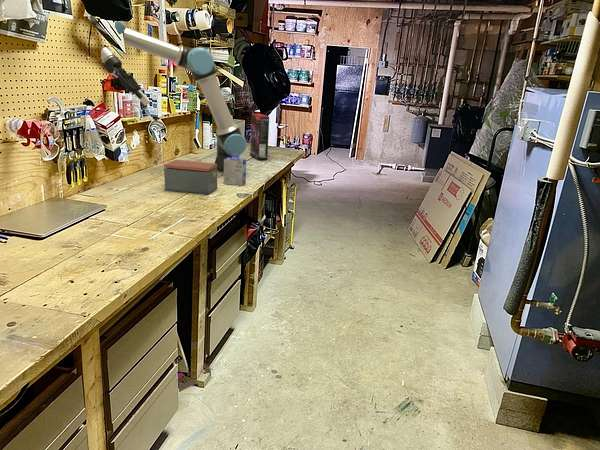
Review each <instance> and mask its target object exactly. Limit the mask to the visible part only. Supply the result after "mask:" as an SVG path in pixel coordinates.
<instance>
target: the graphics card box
mask: <svg viewBox="0 0 600 450" xmlns="http://www.w3.org/2000/svg"><path fill="white" fill-rule="evenodd" d="M250 118H251V121H250V122H251V125H250V150H249V151H250V152H249V153H250V154H249V156H251V157H252V158H254V159H256V160H259V161H261V160H262V161H263V160H265V161H267V160H268V153H269V136H270V135H269V134H270V132H269V131H270V116H269V115H265V114H262V113H252V114H251V117H250Z"/></svg>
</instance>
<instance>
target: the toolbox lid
mask: <svg viewBox="0 0 600 450" xmlns="http://www.w3.org/2000/svg"><path fill="white" fill-rule="evenodd" d="M163 167H164V168H176V169H187V170H197V171H210V170H212V169H213V168H215V167H217V164H215V162H213V163H212V162H202V161H191V160H181V159H174V160H171V161H170V162H167V163H164V164H163Z"/></svg>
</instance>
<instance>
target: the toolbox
mask: <svg viewBox="0 0 600 450" xmlns="http://www.w3.org/2000/svg"><path fill="white" fill-rule="evenodd" d="M163 173H164V191H166V192H174V193H185V194H196V195H205V196H206V195H207V196H210V195H211V194H212V193H213V192H215V191H216V190H217V189H218V171H217V167H215V168H213V169H212V170H210V171H197V170H187V169H176V168H165V167H164V168H163Z"/></svg>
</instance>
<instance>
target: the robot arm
mask: <svg viewBox="0 0 600 450" xmlns="http://www.w3.org/2000/svg"><path fill="white" fill-rule="evenodd" d="M115 28H116V30H117V32H118V33H119V34H121V33H123V37H124V40H125V43H126V44H127V45H126V46H128V47H132V48H134V49H137V50H140V51H142V52H145V53H147V54H151V55H153V56H157V57H160V58H162V59H165V60H168V61H170V62H174V63H175V64H176V66H179V67H181V68H183V69H185V70H187V71H189V72H190V73H191V76H192V77H193V81H194V82H195V83H198V84H199V85H198V86H199V87H200V90H201V92H202V94H203V97H204V99H205V102H206V104H207V105H208V108H209V111H210V113H211V116H212V117H213V120H214V122H215V126H216V127H217V129H216V157H215V160H214V163H215V164H217V172H220V173H221V172H223V173H224V159H226V158H232V155H233V153H234V154H240V156H241V155H242V154H244V153H245V152H246V150H247V146H248V145H247V140H246V138H245V137H244V136H243V133H242V131H241V128H240V127H239V125H238V124H235V122H234V119H233V117H232V115H231V114H232V113H231V111H230V110H229V108H228V104H227V102H226V100H225V98H224V97H225V96H224V95H223V91H222V90H221V87H220V85H219V81H218V80H217V74H218V71H217V68H216V66H215V60H214V57H213V55H212V53H211V52H210V51H209V50H208V49H206V48H204V47H201V46H200V47H199V46H198V47H194V48H193V47H187V46H184V45H180V46H179V45H178V46H177V45H175V44H172V43H170V42H167V41H164V40H161V39H159V38H156V37H153V36H151V35H148V34H145V33H142V32H140V31H138V30H134V29H131V28H129V27H127V26H126V25H125V23H124V22H123V21H122V22H115ZM101 59H102V63H104V67H103V69H104V68H105V69H104V70H105V71H106V72H107V74H109V75H111V77H112V78H113V79H115V80H116V79H117V78H118V79H119V80H120V82H121V84H120V85H121V86H123V88H124V89H125V90H127V91H128V92H129V93H130V94H131V95H132V96H133V95H135V96H136V98H137V99H139V100H140V102H141V103H142V104H143V106H148V105H149V103H150V102H151V100H150V99H149V98H148V97H147V96H146V95H145V94H144V93H143V91H142V87H141V86H140V84H139V83H138V82H137V80H136V79H135V78H134V76H133V75H132V73H131V72H127V70H125V68H123V67H122V66H123V62H122V60H120V58H119V57H117V56H116V54H115V53H114V51H112V49H111V48H110V47H109V46H108V45H107V46H106V45H104V46H103V48H102V50H101ZM234 157H238V156H237V155H234Z"/></svg>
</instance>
